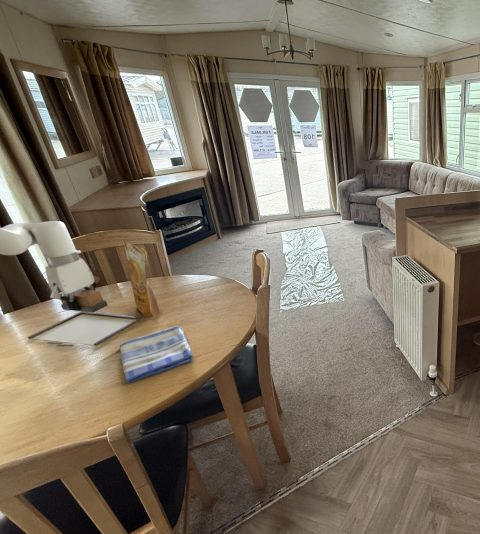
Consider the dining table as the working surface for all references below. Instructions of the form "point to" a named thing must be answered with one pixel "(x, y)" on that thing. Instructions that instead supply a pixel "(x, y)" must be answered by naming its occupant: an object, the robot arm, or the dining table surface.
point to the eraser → (87, 300)
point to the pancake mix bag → (140, 279)
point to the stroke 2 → (65, 345)
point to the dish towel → (154, 353)
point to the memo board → (86, 328)
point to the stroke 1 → (54, 343)
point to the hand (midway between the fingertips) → (84, 305)
